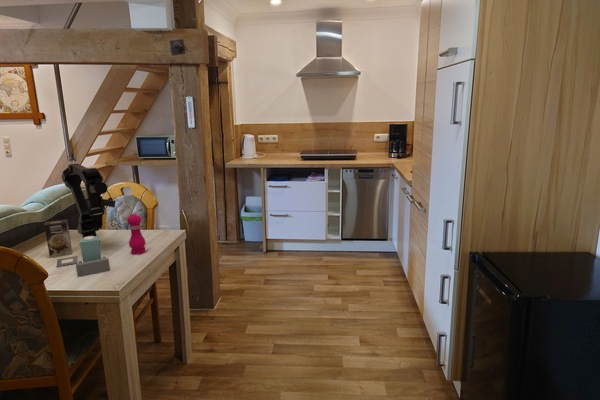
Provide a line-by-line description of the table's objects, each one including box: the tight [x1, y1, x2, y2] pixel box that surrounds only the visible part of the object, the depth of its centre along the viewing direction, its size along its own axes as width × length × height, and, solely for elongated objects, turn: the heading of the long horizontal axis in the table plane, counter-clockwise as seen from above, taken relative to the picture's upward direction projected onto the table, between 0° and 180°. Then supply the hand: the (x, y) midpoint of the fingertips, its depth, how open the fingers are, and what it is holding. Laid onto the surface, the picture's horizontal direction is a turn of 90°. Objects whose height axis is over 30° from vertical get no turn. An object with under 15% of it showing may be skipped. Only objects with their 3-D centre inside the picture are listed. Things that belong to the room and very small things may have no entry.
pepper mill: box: [126, 211, 146, 256], centre depth 183 cm, size 7×7×20 cm
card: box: [56, 255, 79, 268], centre depth 176 cm, size 10×8×1 cm
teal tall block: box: [79, 235, 102, 263], centre depth 169 cm, size 6×7×13 cm
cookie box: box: [43, 218, 73, 259], centre depth 184 cm, size 9×6×16 cm
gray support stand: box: [75, 256, 111, 278], centre depth 166 cm, size 11×12×5 cm
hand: (101, 227), depth 186 cm, fingers open, 9 cm apart
